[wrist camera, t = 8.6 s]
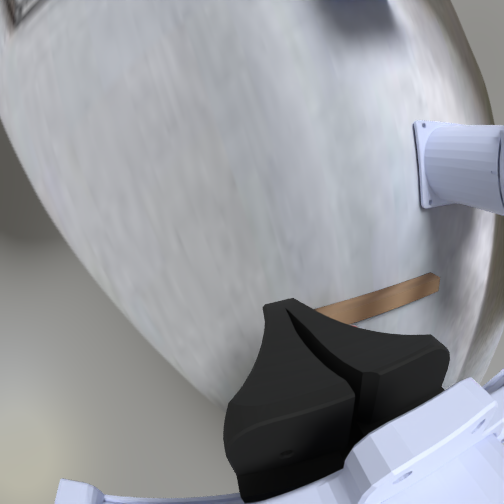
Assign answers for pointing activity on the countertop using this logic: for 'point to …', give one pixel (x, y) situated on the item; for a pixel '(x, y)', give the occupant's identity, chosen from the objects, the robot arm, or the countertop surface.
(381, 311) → the walnut guide channel
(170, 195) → the countertop surface
